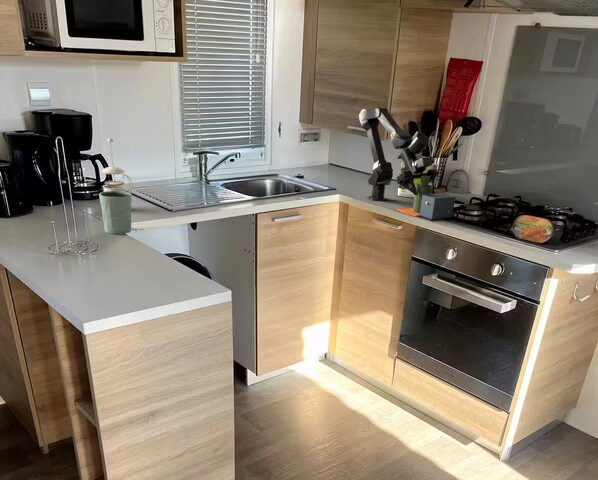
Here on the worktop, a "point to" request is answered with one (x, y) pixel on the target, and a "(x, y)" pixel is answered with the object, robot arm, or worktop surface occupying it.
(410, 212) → the mat
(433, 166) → the tea box
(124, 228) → the green cup
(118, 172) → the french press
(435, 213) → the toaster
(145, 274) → the worktop surface
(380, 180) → the robot arm
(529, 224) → the tin
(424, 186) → the bottle
